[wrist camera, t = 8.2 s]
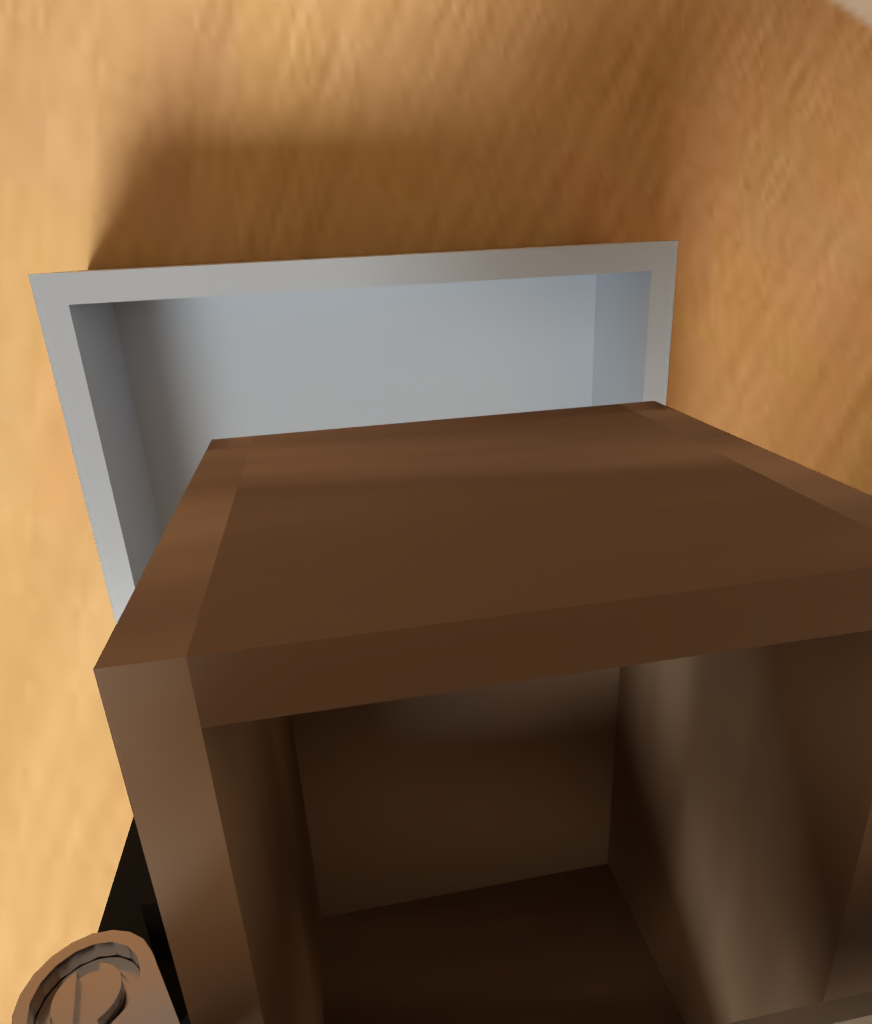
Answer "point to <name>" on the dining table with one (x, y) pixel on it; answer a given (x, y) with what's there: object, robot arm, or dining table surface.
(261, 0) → the dining table surface
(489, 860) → the small crate
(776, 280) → the dining table surface
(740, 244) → the dining table surface
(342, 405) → the large crate
